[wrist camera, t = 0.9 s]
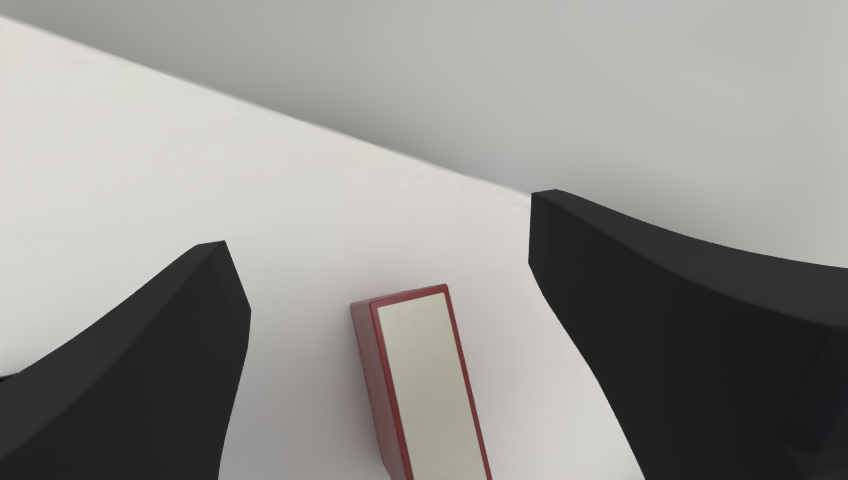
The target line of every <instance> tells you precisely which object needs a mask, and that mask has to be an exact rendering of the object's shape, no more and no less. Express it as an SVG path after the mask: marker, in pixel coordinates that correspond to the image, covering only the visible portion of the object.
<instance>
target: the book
mask: <svg viewBox="0 0 848 480" xmlns="http://www.w3.org/2000/svg"><path fill="white" fill-rule="evenodd" d="M350 309H351V314H352V319H353V323H354V328H355V333H356V338H357V342H358V347H359V352H360V357H361V362H362V366H363V371H364V376H365V381H366V385H367V390H368V395H369V400H370V405H371V409H372V414H373V419H374V424H375V428H376V433H377V438H378V443H379V448H380V452H381V457H382V462H383V464H384V466H385V468H386V470H387V472H388V474H389V476H390V478H391V480H492V476H491V472H490V467H489V463H488V459H487V454H486V450H485V446H484V441H483V437H482V433H481V428H480V424H479V420H478V416H477V411H476V407H475V403H474V398H473V394H472V390H471V385H470V381H469V377H468V372H467V368H466V364H465V359H464V355H463V351H462V346H461V342H460V338H459V333H458V329H457V325H456V320H455V316H454V312H453V307H452V303H451V299H450V294H449V290H448V286H447V284H440V285H435V286H430V287H425V288H420V289H414V290H409V291H404V292H400V293H395V294H391V295H387V296H382V297H378V298H374V299H369V300H365V301H361V302H356V303H352V304H350Z"/></svg>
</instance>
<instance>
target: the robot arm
mask: <svg viewBox="0 0 848 480" xmlns="http://www.w3.org/2000/svg"><path fill="white" fill-rule="evenodd" d="M528 263H529V266H530V268H531V270H532V273H533V275H534V277H535V279H536V282H537V284H538V286H539V288H540V290H541V292H542V294H543V296H544V298H545V299H546V301H547V302H548V304H549V306H550V307H551V309H552V310H553V312H554V313H555V315H556V316H557V318H558V320H559V321H560V323H561V324H562V326H563V327H564V329H565V330H566V332H567V333H568V335H569V336H570V338H571V339H572V341H573V342H574V344H575V346H576V347H577V349H578V350H579V352H580V353H581V355H582V356H583V358H584V359H585V361H586V362H587V364H588V365H589V367H590V369H591V370H592V372H593V374H594V376H595V377H596V379H597V381H598V382H599V384H600V386H601V388H602V390H603V392H604V394H605V396H606V398H607V400H608V402H609V404H610V406H611V408H612V410H613V412H614V414H615V416H616V418H617V420H618V422H619V424H620V426H621V428H622V430H623V432H624V434H625V437H626V439H627V441H628V443H629V445H630V447H631V449H632V451H633V453H634V455H635V458H636V460H637V462H638V464H639V466H640V469H641V471H642V473H643V475H644V478H645V480H848V268H840V267H833V266H826V265H819V264H813V263H807V262H800V261H793V260H788V259H783V258H778V257H773V256H768V255H762V254H757V253H752V252H747V251H743V250H739V249H734V248H730V247H726V246H722V245H718V244H715V243H710V242H707V241H703V240H699V239H695V238H692V237H689V236H685V235H682V234H678V233H676V232H673V231H669V230H666V229H664V228H661V227H658V226H655V225H652V224H649V223H646V222H643V221H641V220H638V219H635V218H633V217H630V216H627V215H625V214H622V213H620V212H617V211H614V210H612V209H609V208H607V207H604V206H602V205H599V204H597V203H594V202H592V201H589V200H586V199H584V198H582V197H579V196H576V195H574V194H571V193H568V192H564V191H561V190H557V189H554V190H548V191H541V192H535V193H532V197H531V217H530V237H529V257H528ZM250 319H251V308H250V305H249V303H248V300H247V297H246V295H245V292H244V289H243V287H242V284H241V281H240V279H239V276H238V274H237V271H236V268H235V266H234V263H233V260H232V258H231V255H230V252H229V250H228V247H227V244H226V242H225V240H224V241H217V242H211V243H204V244H198V245H196V246H194V247H192V248H191V249H189V250H188V251H187V252H185V253H184V254H182V255H181V256H180V257H179V258H177V259H176V260H175V261H173V262H172V263H171V264H170V265H168V266H167V267H166V268H165V269H163V270H162V271H161V272H160V273H158V274H157V275H156V276H155V277H154V278H152V279H151V280H150V281H149V282H147V283H146V284H145V285H144V286H142V287H141V288H140V289H139V290H137V291H136V292H135V293H134V294H132V295H131V296H130V297H129V298H127V299H126V300H125V301H123V302H122V303H120V304H119V305H118V306H116V307H115V308H114V309H112V310H111V311H110V312H108V313H107V314H106V315H104V316H103V317H102V318H100V319H99V320H98V321H96V322H95V323H94V324H92V325H91V326H90V327H88V328H87V329H86V330H84V331H83V332H81V333H80V334H78V335H77V336H75V337H74V338H73V339H71V340H70V341H68V342H67V343H65V344H64V345H62V346H61V347H59V348H57V349H56V350H54V351H53V352H51V353H50V354H48V355H46V356H45V357H43V358H42V359H40V360H39V361H37V362H35V363H34V364H32V365H31V366H29V367H27V368H26V369H24V370H22V371H21V372H19V373H17V374H16V375H14V376H12V377H10V378H8V379H7V380H5V381H3V382H1V383H0V480H218V475H219V468H220V461H221V455H222V450H223V445H224V440H225V436H226V432H227V428H228V424H229V420H230V416H231V412H232V408H233V405H234V401H235V397H236V393H237V389H238V385H239V381H240V377H241V373H242V369H243V365H244V361H245V357H246V353H247V348H248V340H249V331H250Z"/></svg>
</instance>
